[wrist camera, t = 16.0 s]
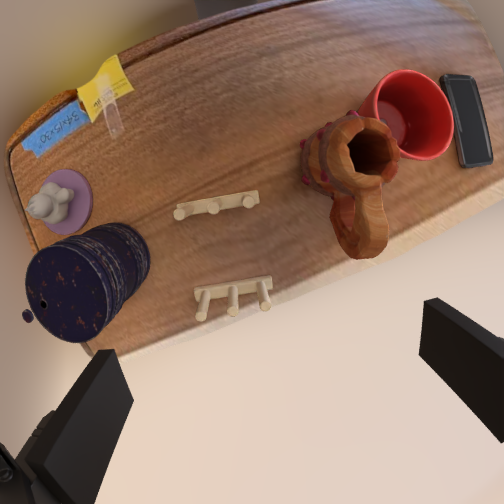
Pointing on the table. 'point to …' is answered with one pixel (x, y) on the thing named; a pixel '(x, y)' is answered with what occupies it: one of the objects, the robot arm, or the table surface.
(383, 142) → the mug
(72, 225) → the purple coaster
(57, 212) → the grey lumpy piece
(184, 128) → the table surface
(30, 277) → the dark blue barrel
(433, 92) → the flower pot
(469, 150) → the phone
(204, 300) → the rack
